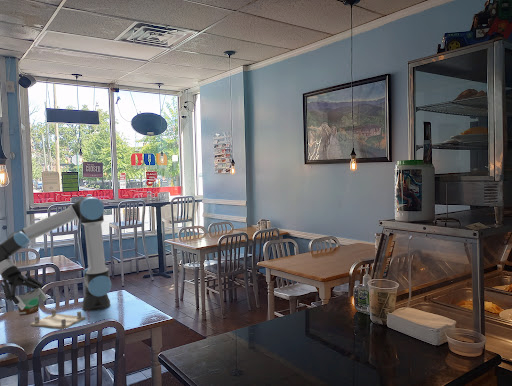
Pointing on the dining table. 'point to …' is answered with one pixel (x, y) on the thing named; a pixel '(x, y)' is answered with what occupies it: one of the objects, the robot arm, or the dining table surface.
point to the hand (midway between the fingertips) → (34, 303)
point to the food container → (30, 302)
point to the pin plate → (57, 320)
